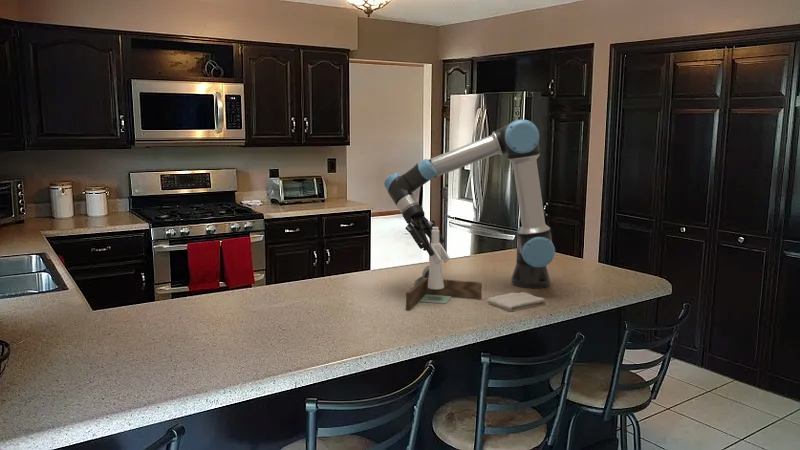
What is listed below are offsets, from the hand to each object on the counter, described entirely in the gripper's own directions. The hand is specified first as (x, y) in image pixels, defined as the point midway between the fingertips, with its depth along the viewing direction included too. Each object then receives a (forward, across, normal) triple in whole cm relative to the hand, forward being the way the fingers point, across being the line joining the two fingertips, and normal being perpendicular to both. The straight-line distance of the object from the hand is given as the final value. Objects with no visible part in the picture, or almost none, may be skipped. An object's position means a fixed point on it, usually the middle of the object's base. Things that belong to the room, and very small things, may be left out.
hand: (443, 261), depth 215 cm
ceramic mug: (-4, -14, -25) cm, 29 cm away
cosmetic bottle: (+5, -1, -10) cm, 11 cm away
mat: (+8, 0, -13) cm, 15 cm away
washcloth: (+25, -17, +3) cm, 30 cm away
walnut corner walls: (+12, +1, -8) cm, 15 cm away
